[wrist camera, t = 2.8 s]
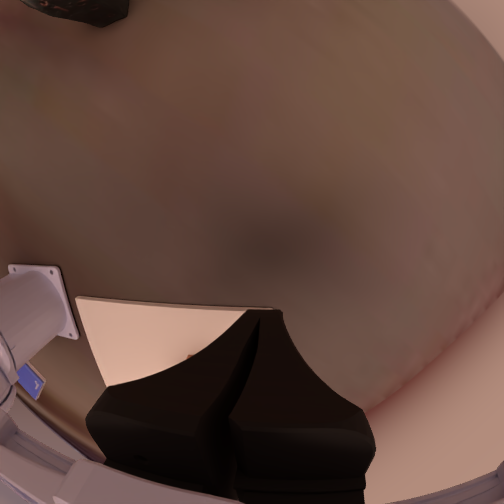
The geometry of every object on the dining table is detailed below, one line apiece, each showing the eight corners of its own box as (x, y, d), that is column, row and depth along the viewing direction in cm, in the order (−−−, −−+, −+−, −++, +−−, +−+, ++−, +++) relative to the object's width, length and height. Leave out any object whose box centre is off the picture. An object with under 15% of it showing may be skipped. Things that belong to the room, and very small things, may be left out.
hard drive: (42, 384, 29) (-11, 320, 28) (35, 401, 32) (-13, 345, 30) (48, 378, 31) (-5, 315, 29) (40, 395, 33) (-8, 340, 32)
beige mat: (117, 401, 28) (114, 404, 28) (78, 295, 24) (74, 298, 23) (272, 425, 26) (272, 429, 25) (272, 307, 21) (271, 311, 21)
